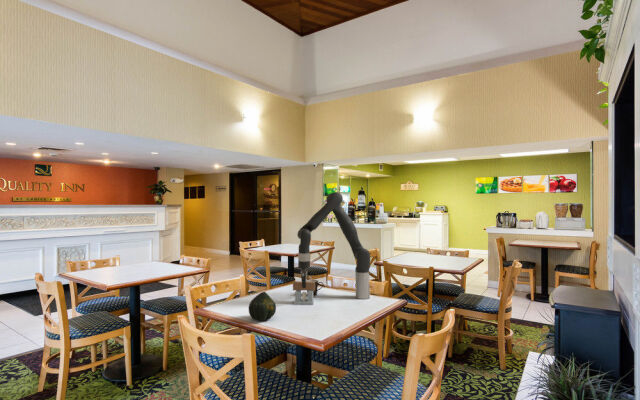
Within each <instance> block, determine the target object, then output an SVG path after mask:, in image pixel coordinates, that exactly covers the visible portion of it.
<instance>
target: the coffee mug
mask: <svg viewBox="0 0 640 400" xmlns="http://www.w3.org/2000/svg"><path fill="white" fill-rule="evenodd" d="M306 281H313V282H315V290H313V297H316V296H318V295H317V294H318V292H319V290H321V289H322V288H323V287H324V282H323V281H319V280H318V279H307V280H306ZM319 284H322V286H321V287H320V288H319V287H318V286H319ZM318 288H319V289H318ZM308 292H309V290H306V295H308Z"/></svg>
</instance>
